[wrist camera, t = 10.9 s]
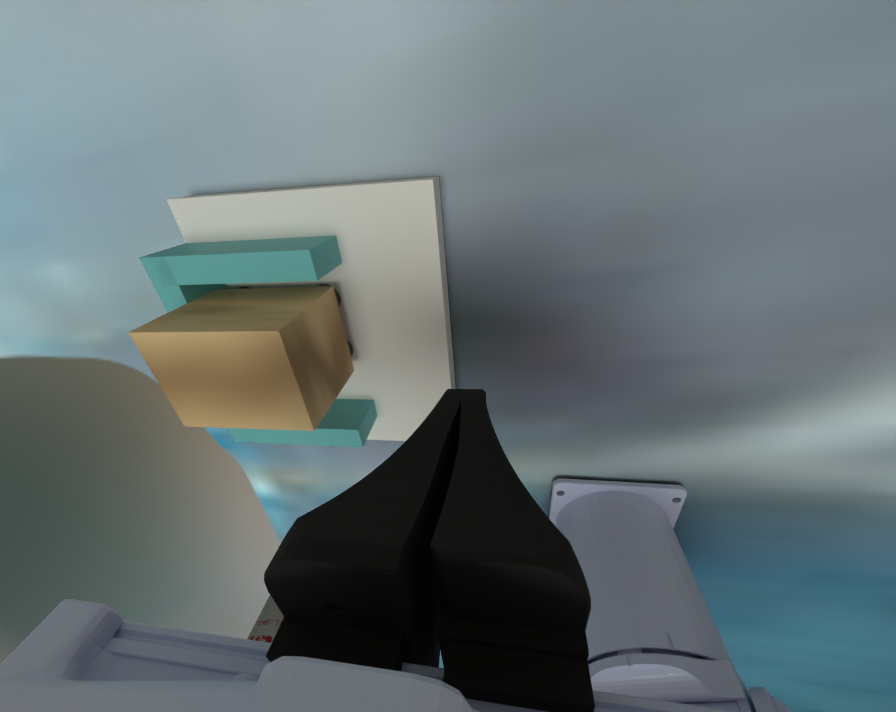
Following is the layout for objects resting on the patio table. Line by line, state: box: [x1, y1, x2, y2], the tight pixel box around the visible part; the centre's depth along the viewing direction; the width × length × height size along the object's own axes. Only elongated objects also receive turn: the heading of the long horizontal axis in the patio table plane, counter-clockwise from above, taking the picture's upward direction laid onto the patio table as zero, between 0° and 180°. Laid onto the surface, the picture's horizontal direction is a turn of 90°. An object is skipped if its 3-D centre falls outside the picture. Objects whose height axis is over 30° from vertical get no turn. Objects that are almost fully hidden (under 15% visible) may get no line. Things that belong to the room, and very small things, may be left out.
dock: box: [140, 176, 456, 447], centre depth 18 cm, size 14×12×4 cm
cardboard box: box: [129, 284, 354, 431], centre depth 16 cm, size 4×6×5 cm
